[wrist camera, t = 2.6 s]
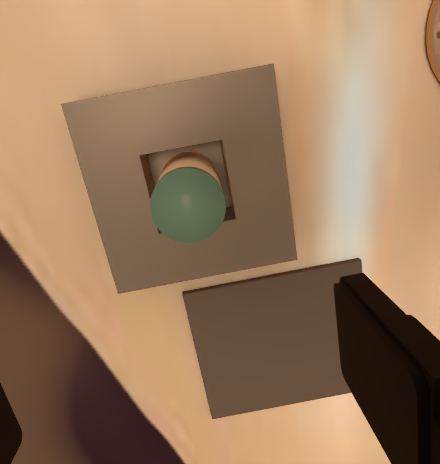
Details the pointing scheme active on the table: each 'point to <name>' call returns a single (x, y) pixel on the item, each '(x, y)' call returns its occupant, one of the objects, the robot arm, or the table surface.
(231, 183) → the housing
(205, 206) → the filter cartridge
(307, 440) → the table surface
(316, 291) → the mat
